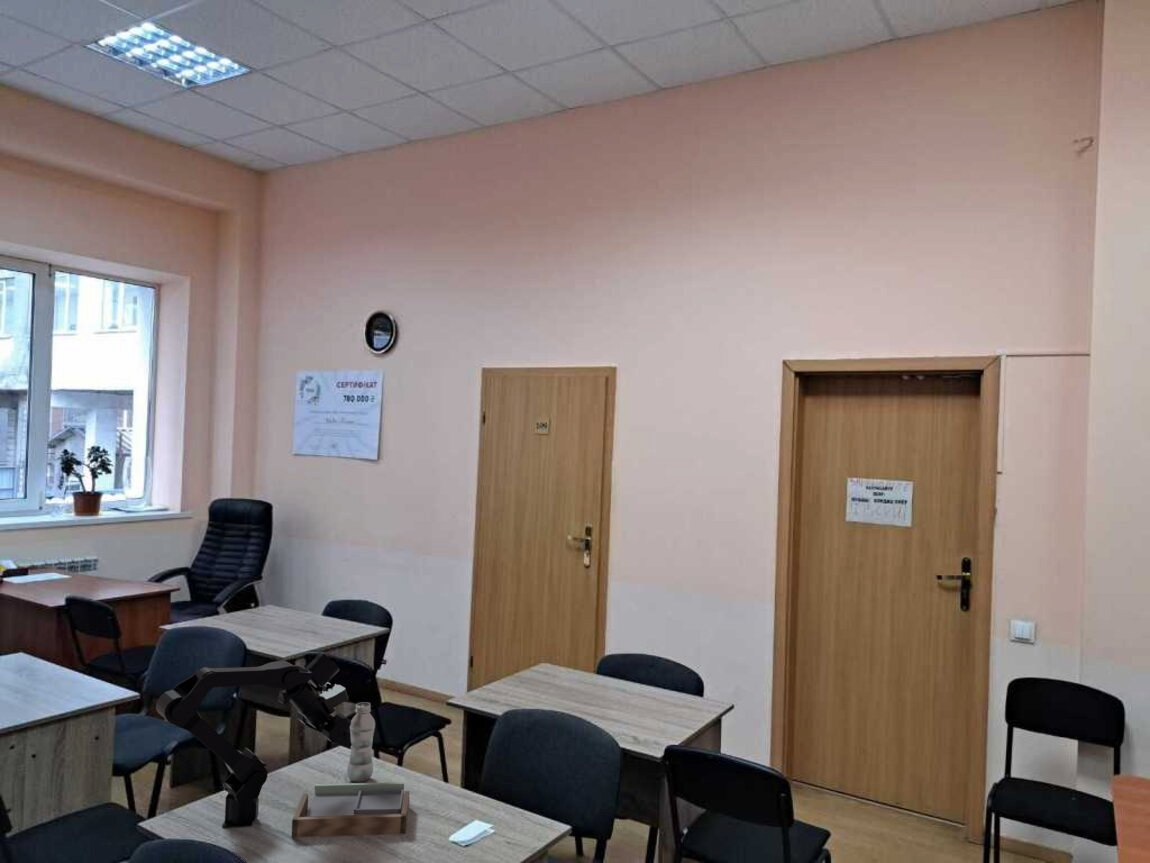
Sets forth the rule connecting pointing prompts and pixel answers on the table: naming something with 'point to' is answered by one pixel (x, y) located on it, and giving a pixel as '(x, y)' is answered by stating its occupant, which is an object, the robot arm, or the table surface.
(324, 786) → the tray
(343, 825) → the dock
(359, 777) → the plastic bottle
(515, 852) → the table surface
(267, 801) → the table surface
